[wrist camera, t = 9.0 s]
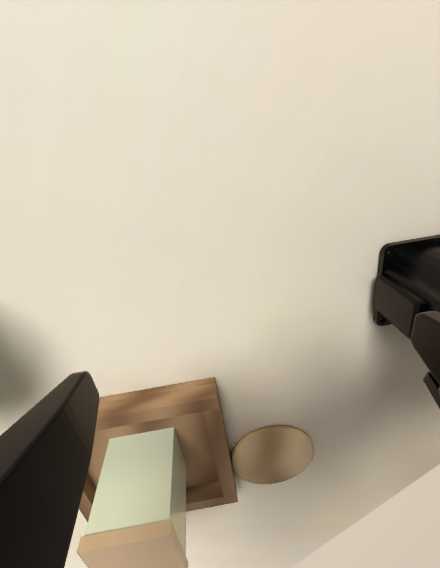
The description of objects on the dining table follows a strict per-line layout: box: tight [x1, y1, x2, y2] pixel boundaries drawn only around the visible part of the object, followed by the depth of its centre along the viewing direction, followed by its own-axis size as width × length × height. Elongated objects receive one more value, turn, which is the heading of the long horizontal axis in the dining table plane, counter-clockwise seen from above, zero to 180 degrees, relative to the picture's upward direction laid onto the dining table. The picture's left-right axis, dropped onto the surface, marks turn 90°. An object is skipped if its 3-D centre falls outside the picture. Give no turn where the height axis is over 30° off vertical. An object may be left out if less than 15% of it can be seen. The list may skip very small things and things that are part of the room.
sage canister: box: [77, 427, 188, 568], centre depth 23 cm, size 6×6×8 cm
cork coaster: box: [231, 425, 314, 484], centre depth 29 cm, size 8×8×1 cm
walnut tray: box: [79, 377, 238, 522], centre depth 26 cm, size 14×14×2 cm
